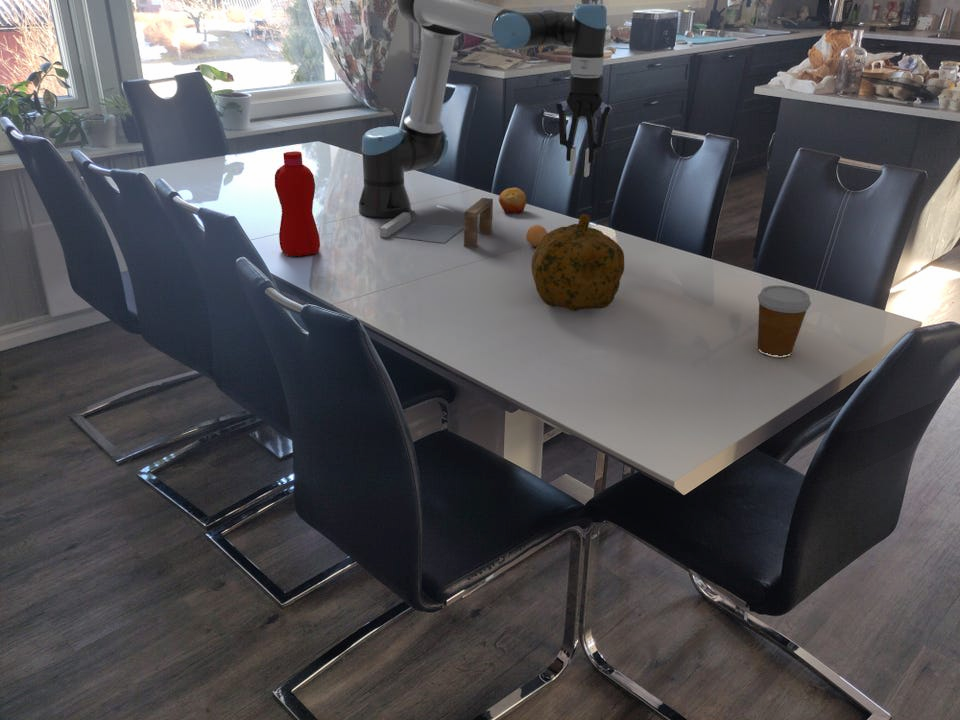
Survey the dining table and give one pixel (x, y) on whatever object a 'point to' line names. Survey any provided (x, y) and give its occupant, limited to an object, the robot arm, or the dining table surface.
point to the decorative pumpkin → (577, 267)
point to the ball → (535, 234)
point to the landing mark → (429, 233)
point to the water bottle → (296, 207)
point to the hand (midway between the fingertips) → (579, 174)
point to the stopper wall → (394, 224)
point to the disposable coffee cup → (780, 318)
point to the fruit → (512, 200)
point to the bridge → (471, 221)
